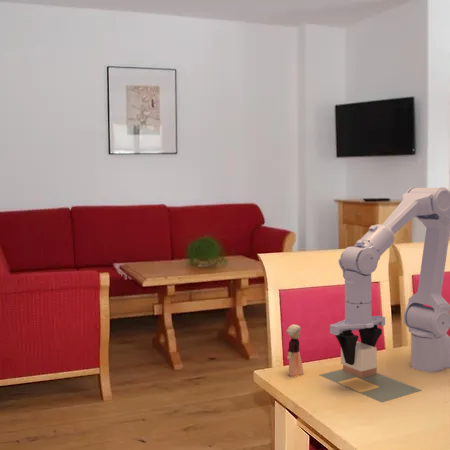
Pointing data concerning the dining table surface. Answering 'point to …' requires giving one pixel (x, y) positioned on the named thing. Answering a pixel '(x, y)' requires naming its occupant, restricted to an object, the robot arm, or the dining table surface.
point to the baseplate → (372, 385)
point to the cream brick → (362, 357)
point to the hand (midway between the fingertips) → (358, 361)
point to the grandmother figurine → (294, 351)
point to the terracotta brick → (360, 372)
